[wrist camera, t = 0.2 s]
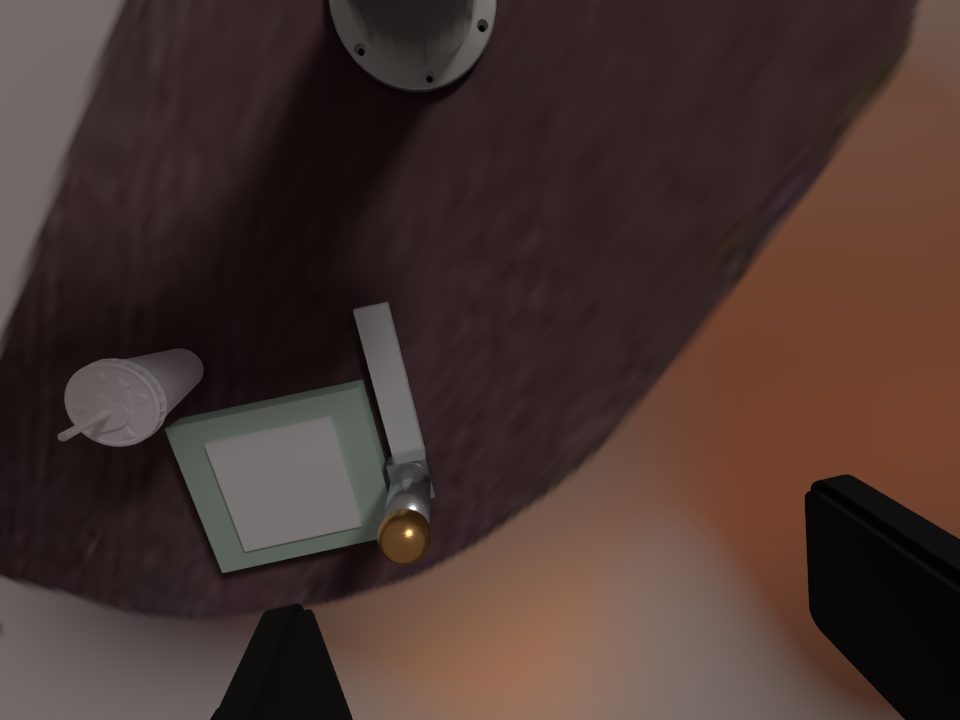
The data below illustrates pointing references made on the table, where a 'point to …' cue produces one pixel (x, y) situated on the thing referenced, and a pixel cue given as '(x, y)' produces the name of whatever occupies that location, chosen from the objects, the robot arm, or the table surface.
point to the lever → (407, 508)
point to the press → (300, 460)
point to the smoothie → (128, 395)
